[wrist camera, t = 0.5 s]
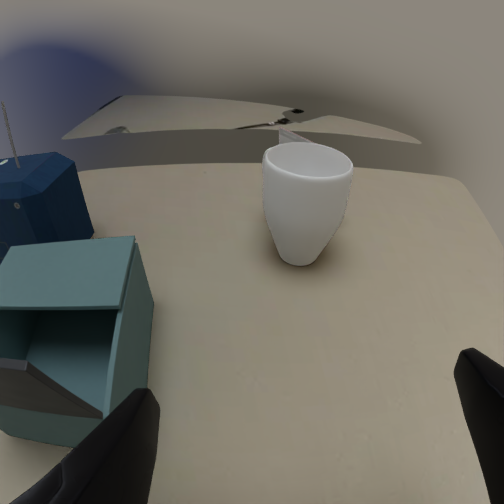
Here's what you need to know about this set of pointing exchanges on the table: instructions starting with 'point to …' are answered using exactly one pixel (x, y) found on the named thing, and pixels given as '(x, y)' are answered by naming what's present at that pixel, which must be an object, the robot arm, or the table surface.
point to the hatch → (39, 392)
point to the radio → (40, 200)
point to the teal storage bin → (75, 328)
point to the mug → (304, 197)
